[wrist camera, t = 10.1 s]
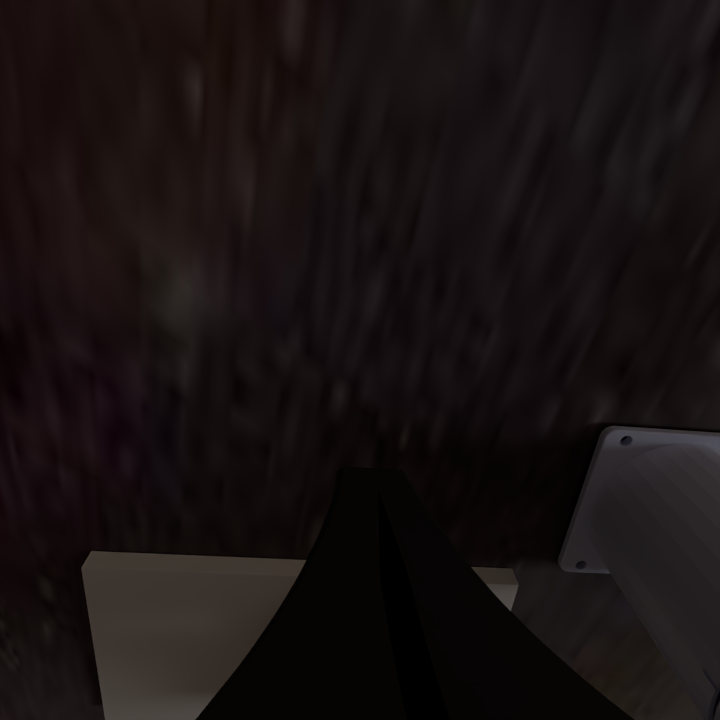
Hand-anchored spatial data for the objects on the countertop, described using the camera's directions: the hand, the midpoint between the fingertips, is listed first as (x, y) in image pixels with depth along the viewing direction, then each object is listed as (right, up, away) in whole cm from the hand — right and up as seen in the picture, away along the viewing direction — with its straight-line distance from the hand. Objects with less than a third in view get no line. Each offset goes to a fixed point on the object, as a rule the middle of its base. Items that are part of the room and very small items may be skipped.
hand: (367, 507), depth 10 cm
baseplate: (-3, -12, +16) cm, 20 cm away
